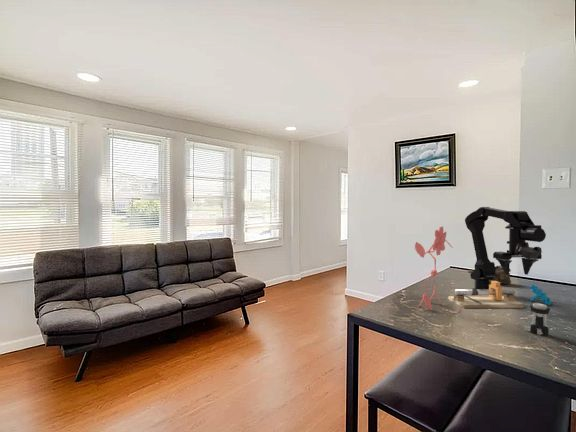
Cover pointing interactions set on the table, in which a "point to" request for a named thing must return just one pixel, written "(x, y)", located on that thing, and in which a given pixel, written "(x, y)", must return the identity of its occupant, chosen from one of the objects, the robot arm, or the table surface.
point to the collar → (498, 290)
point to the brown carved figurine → (499, 275)
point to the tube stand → (485, 299)
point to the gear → (540, 295)
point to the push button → (539, 319)
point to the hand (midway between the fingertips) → (516, 274)
